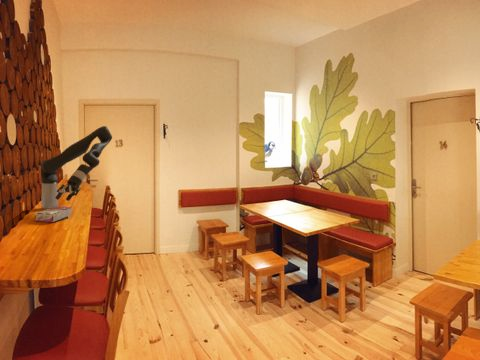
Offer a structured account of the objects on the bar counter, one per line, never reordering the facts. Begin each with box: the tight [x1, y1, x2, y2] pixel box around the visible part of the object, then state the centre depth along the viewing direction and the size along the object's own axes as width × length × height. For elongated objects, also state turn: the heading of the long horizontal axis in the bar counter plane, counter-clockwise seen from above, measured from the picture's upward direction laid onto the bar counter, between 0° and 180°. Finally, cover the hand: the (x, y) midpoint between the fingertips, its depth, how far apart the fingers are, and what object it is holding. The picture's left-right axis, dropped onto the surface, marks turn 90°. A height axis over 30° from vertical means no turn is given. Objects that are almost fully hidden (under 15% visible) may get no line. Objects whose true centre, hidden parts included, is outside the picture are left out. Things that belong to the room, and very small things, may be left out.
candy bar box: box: [35, 206, 73, 223], centre depth 197 cm, size 11×5×16 cm
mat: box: [34, 216, 69, 224], centre depth 197 cm, size 11×13×1 cm
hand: (61, 199), depth 204 cm, fingers open, 8 cm apart
